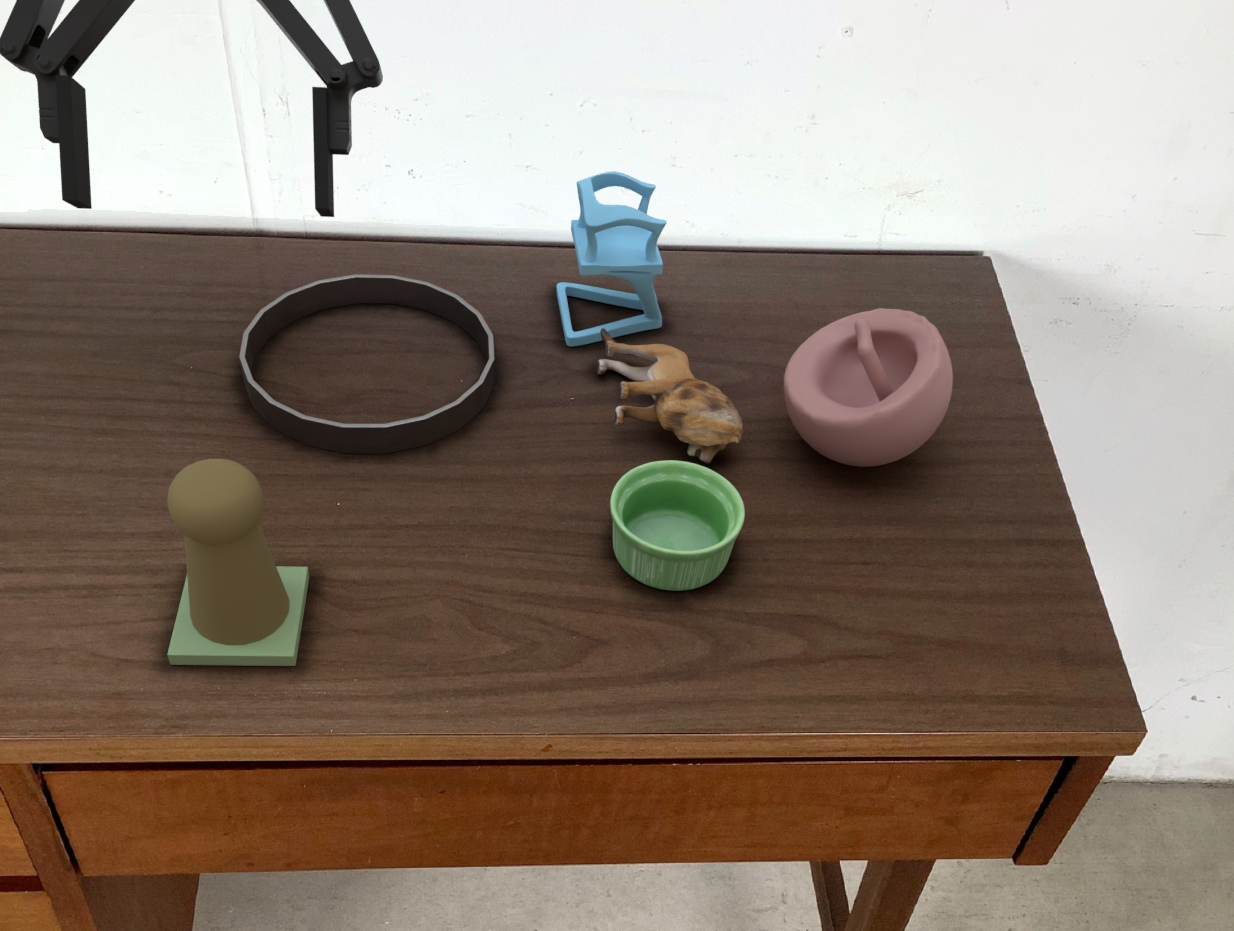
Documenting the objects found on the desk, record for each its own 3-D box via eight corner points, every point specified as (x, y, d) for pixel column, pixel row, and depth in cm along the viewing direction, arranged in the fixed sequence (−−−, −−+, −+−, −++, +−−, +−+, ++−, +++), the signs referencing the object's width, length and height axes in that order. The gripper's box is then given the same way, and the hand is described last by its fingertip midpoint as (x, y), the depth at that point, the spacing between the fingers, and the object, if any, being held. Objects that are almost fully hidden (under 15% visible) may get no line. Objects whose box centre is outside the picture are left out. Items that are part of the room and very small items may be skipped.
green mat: (170, 665, 74) (166, 654, 73) (191, 574, 79) (189, 564, 78) (295, 666, 75) (293, 656, 74) (309, 576, 80) (307, 566, 79)
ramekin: (755, 583, 83) (767, 538, 79) (632, 611, 80) (638, 565, 77) (705, 495, 88) (713, 449, 85) (587, 518, 85) (591, 472, 82)
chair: (667, 345, 99) (684, 212, 90) (565, 347, 98) (573, 212, 89) (652, 290, 104) (667, 159, 95) (555, 291, 103) (562, 158, 94)
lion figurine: (622, 474, 88) (741, 472, 90) (631, 415, 84) (755, 414, 86) (590, 356, 98) (698, 356, 100) (597, 298, 94) (709, 299, 96)
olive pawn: (306, 621, 76) (284, 492, 68) (212, 659, 73) (178, 531, 65) (266, 560, 79) (240, 430, 71) (175, 595, 76) (137, 464, 68)
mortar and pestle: (758, 395, 96) (785, 269, 87) (905, 396, 97) (945, 272, 89) (786, 500, 88) (818, 373, 80) (944, 500, 90) (993, 375, 81)
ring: (203, 423, 89) (196, 395, 87) (302, 282, 101) (299, 256, 99) (450, 476, 87) (450, 450, 85) (521, 327, 99) (522, 301, 97)
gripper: (-90, -257, 61) (-59, 188, 64) (417, -219, 63) (422, 205, 67) (-29, -184, 68) (-4, 212, 71) (423, -153, 71) (427, 226, 74)
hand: (202, 209), depth 69 cm, fingers open, 13 cm apart
